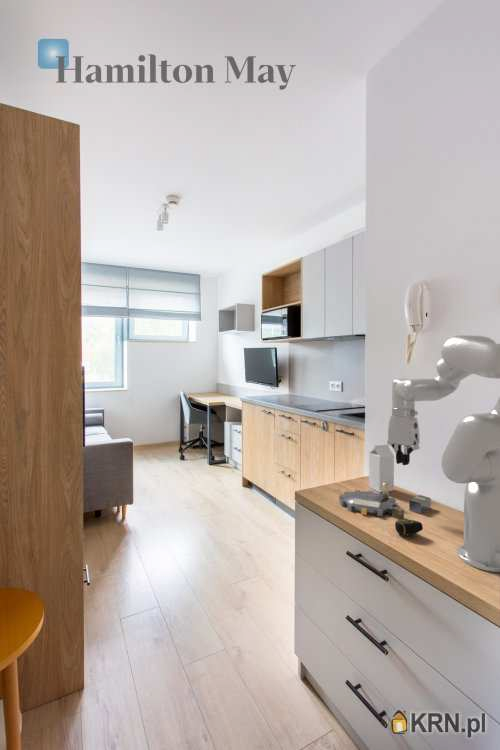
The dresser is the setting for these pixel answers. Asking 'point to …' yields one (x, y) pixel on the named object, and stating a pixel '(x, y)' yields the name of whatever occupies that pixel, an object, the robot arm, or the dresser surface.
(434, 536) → the dresser surface
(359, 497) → the sprocket
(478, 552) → the robot arm
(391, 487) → the milk carton
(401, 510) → the taupe wooden cube
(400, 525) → the tape measure
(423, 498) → the grey rectangular block
